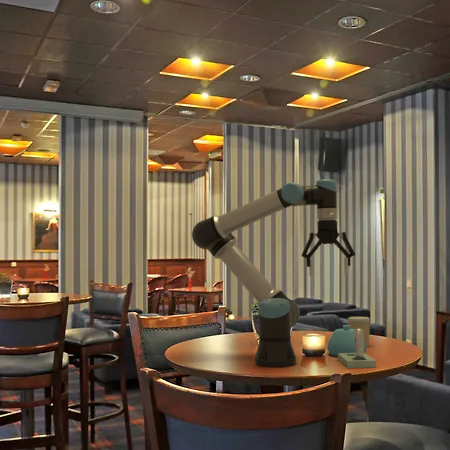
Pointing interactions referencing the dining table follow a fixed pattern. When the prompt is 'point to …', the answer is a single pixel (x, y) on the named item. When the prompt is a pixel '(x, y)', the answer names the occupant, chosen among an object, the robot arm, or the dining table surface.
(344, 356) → the hole board
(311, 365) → the dining table surface
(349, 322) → the coffee cup
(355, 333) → the grey stone block
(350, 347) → the sugar bowl
